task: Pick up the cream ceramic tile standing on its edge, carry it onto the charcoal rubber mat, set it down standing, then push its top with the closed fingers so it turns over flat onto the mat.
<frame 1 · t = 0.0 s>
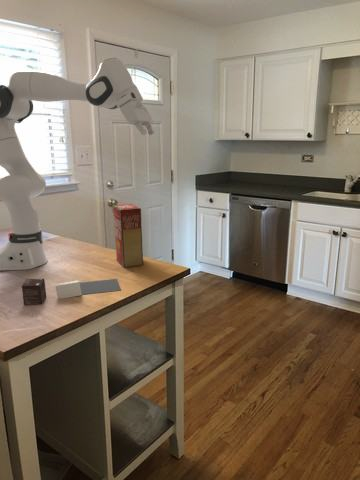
hand: (148, 134, 145), 54 cm above the countertop, tool tilted 30°, fingers open, 8 cm apart
mat: (97, 287, 142), on the countertop
box: (35, 302, 130), on the countertop
food packaging: (129, 262, 171), on the countertop
tile: (69, 296, 134), on the countertop, touching mat
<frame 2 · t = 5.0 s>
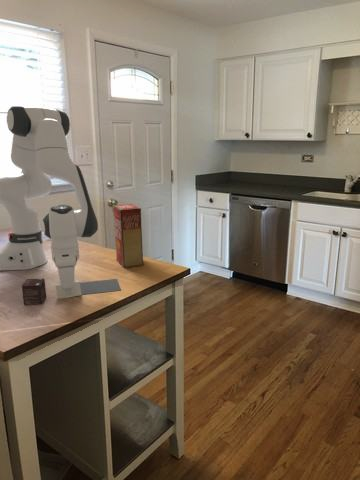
hand: (68, 292, 134), 2 cm above the countertop, tool pointing down, fingers closed on tile, 2 cm apart
tile: (69, 296, 134), on the countertop, touching gripper, mat
everything else where it was.
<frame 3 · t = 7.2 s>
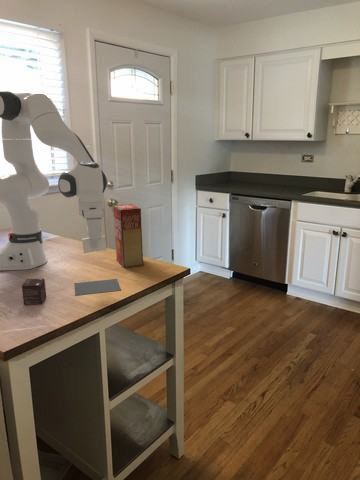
hand: (94, 246, 139), 15 cm above the countertop, tool pointing down, fingers closed on tile
tile: (95, 250, 140), point 14 cm above the countertop, touching gripper
everything else where it was.
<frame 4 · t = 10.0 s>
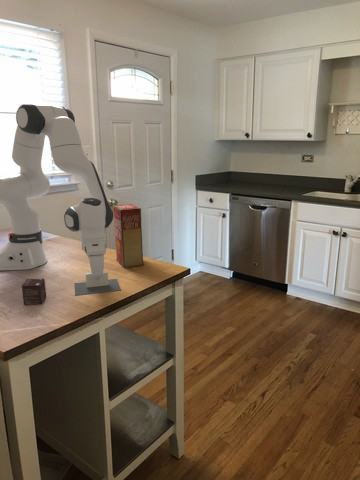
hand: (96, 279, 143), 3 cm above the countertop, tool pointing down, fingers open, 7 cm apart
tile: (97, 285, 143), resting on mat
everything else where it was.
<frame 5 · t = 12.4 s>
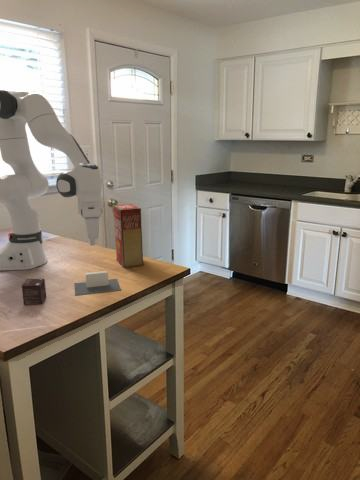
hand: (92, 244, 145), 14 cm above the countertop, tool pointing down, fingers closed
nothing on the countertop moved.
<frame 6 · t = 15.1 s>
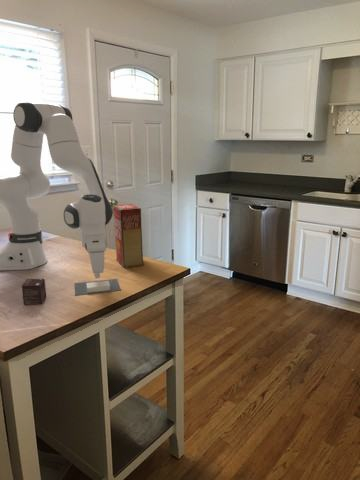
hand: (97, 277, 142), 4 cm above the countertop, tool pointing down, fingers closed
tile: (97, 284, 142), point 1 cm above the countertop, tilted 90°, touching mat
everything else where it was.
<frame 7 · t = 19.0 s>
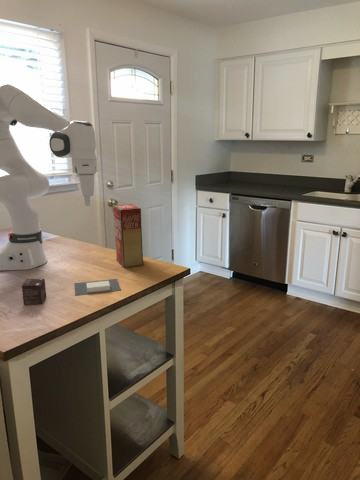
hand: (87, 205, 144), 29 cm above the countertop, tool pointing down, fingers closed
nothing on the countertop moved.
at the end: tile tilted 90°; tile inside the target area on the mat (0.6 cm from its centre), point 1.3 cm above the mat's base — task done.
